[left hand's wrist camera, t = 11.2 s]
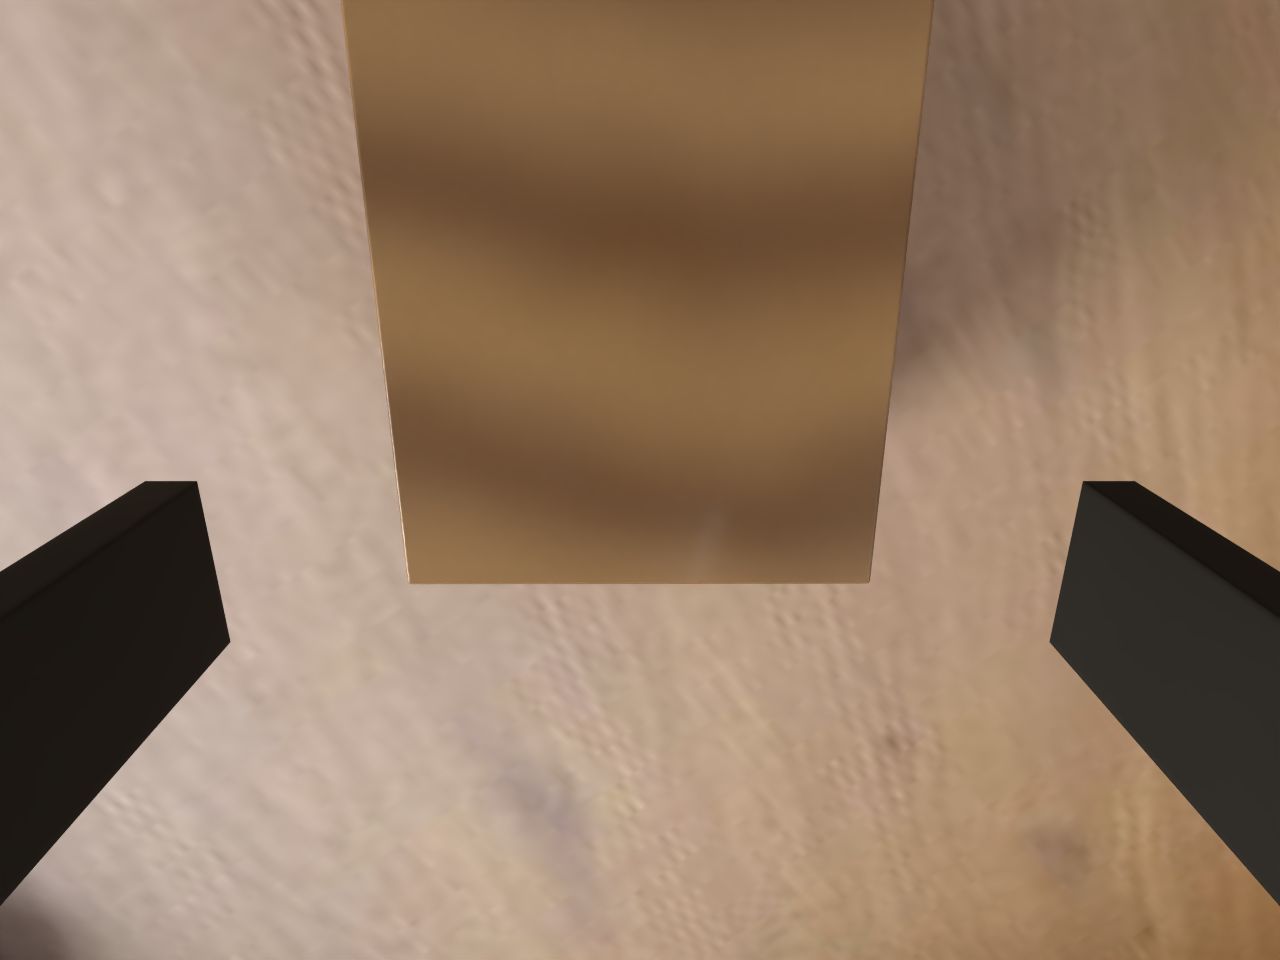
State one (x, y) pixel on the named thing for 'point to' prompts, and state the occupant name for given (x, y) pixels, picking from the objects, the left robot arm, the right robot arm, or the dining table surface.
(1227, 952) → the dining table surface
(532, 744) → the dining table surface
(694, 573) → the cabinet
